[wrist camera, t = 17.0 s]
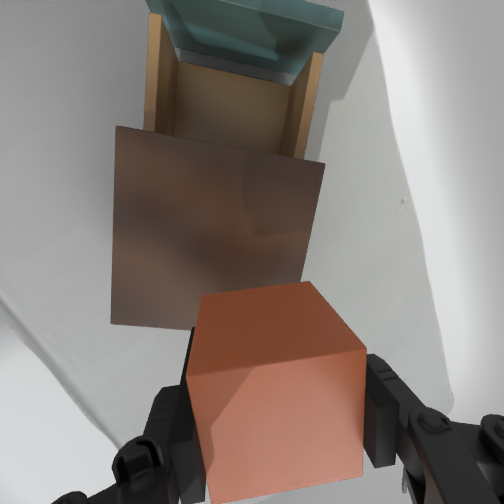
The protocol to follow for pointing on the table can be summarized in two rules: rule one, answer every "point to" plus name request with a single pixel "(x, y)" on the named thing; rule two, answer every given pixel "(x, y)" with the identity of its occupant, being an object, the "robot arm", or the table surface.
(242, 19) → the drawer
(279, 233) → the cabinet
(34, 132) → the table surface
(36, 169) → the table surface
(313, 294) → the block
